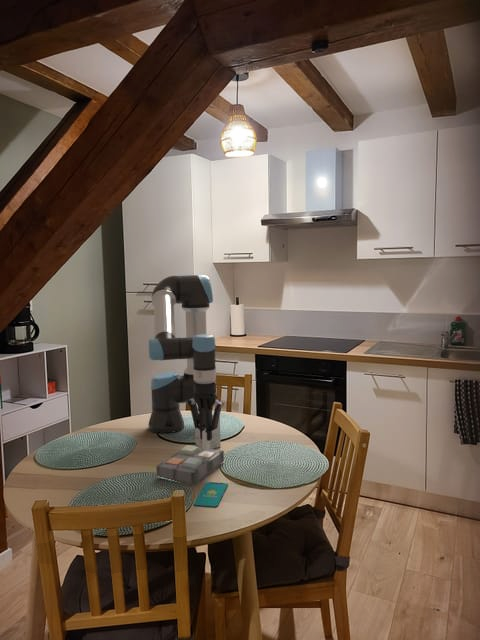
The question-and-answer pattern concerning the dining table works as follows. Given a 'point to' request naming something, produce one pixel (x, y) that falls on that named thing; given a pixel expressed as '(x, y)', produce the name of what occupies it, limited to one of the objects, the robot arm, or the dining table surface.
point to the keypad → (189, 474)
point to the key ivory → (206, 454)
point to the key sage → (190, 450)
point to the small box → (215, 436)
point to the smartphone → (211, 494)
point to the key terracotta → (175, 461)
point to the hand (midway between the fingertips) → (206, 448)
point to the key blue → (192, 463)
